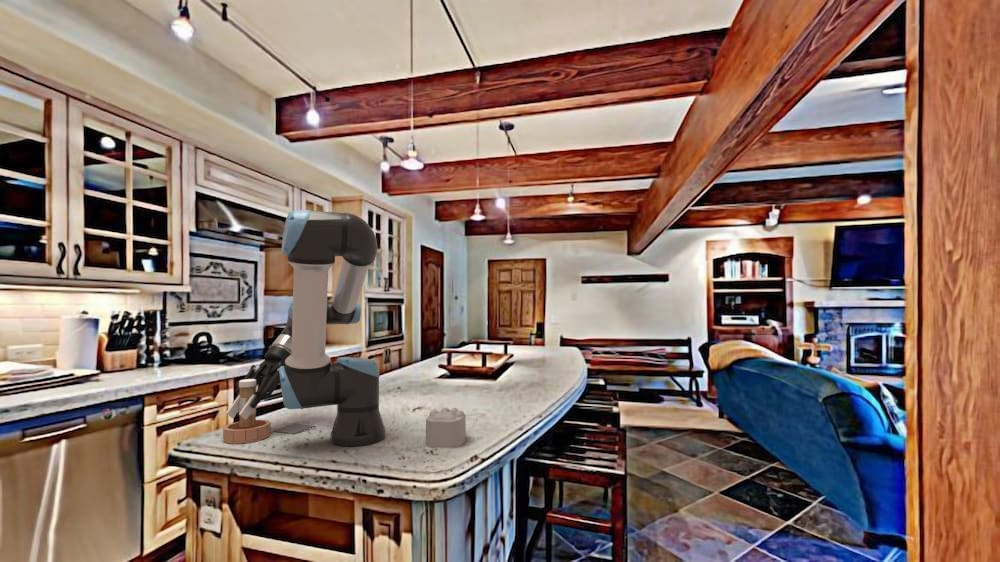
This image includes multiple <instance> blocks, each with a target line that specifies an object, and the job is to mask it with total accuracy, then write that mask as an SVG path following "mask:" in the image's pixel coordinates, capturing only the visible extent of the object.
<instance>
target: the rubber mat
mask: <svg viewBox="0 0 1000 562" xmlns="http://www.w3.org/2000/svg"><path fill="white" fill-rule="evenodd" d="M315 426H316V425H312V424H304V423H303V424H301V423H291V424H288V425H285V426H282V427H279V428H276V429H271V432H272V431H273V433H279V432H283V433H282V434H287V433H292V434H291V435H296V434H295V433H297V434H300V433H302V432H305V431H308V430H310V429H309V428H311V429H313V428H312V427H314V428H316V427H315ZM307 429H308V430H307ZM304 430H305V431H304ZM301 431H302V432H301ZM284 432H285V433H284ZM299 432H300V433H299Z"/></svg>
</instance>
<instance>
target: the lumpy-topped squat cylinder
mask: <svg viewBox="0 0 1000 562" xmlns="http://www.w3.org/2000/svg"><path fill="white" fill-rule="evenodd" d="M466 420H467V419H466V414H465V413H464V411H463V410H461V409H460V410H458V408H457V407H453V408H451V409H450V408H448V407H443V408H441V410H439V411H438V410H437V409H432V410H430V412H429V415H427V417H426V418H425V446H426V447H428V448H435V449H436V448H445V449H455V448H458V447H461V446H462V445H464V443H465V442H466V440H467V439H466V438H467V434H466V432H467V430H466V428H467V427H466V426H467V425H466V423H467V422H466Z"/></svg>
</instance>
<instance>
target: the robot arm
mask: <svg viewBox="0 0 1000 562" xmlns="http://www.w3.org/2000/svg"><path fill="white" fill-rule="evenodd" d="M281 242H282V243H281V254H282V255H284V256H287V262H288V264H289V265H290V266H291V267H292V268H293V277H292V278H293V283H292V300H291V301H290V303H289V307H288V310H287V311H288V312H287V319H286V325H285V327H284V328H283V330H282V331H281V333H280V334H279V335H278V336H277V338H276V339H275V340H274V341H273V342H272V344H271V346H270V347H269V348H268V349H267V351H266V352H265V354H264V360H263V361H262V362H261V363H260V364H259V365H257V366H256V365H255V364H252V365H251V366H250V368H249V371H248V372H247V373H246V375H245V377H244V378H242V380H245V379H256V387H257V386H258V385H259V384H260V385H259V387H258V388H257V389H256V392H254V394H255V395H256V396H255V395H252V396H251V398H250V399H249V400H248V402H247V403H246V405H245V406H244V407H243V409H242V410H241V412H240V413H239V397H240V389H239V388H240V387H239V385H238V386H237V387H236V389H235V392H236V393H237V396H236V397H235V399H233V401H232V403H231V405H230V406H229V408H228V409H227V411H226V412H225V414H226V415H228V417H230V418H232V419H234V418H235V417H236V415H237V414H238V415H239V417H240V416H241V417H242V418H244V419H247V418H248V416H249V415H250V414H251V412H252V411H253V409H254V408H255V407H256V408H257V406H258V405H259V403H260V402H261V401H262V400H263V399H269V398H270V397H271V395H272V394H273V392H275V390H276V388H277V387H278V386H279V384H280V389H281V395H282V396H281V397H282V402H283V406H284V407H285V409H287V410H298V409H299V410H304V409H310V408H317V407H318V408H319V407H327V406H336V407H337V408H336V416H335V419H334V423H333V425H332V429H331V432H330V443H332V444H333V445H335V446H340V447H359V446H365V445H366V446H367V445H370V444H371V445H372V444H375V443H377V442H380V441H382V440H384V439H385V437H386V427H385V425H384V422H383V418H382V415H381V412H380V369H379V364H378V362H377V361H376V360H374V359H370V358H364V357H355V356H354V357H351V356H344V357H343V356H340V357H337V359H336V362H332V360H331V359H332V358H331V357H330V356H329V355H327V354H326V344H327V343H326V342H327V341H326V340H327V337H326V336H327V325H329V326H330V325H351V324H358V323H359V322H360V321H361V316H362V307H361V304H360V302H359V298H360V295H361V292H362V289H363V286H364V283H365V280H366V276H367V274H368V270H369V267H370V265H373V264H374V262H375V259H376V256H377V254H378V241H377V237H376V234H375V232H374V231H373V229H372V227H371V226H370V224H368V223H367V221H365V220H364V219H363V218H362V217H360V216H358V215H355V214H353V213H349V212H333V211H324V210H323V211H320V210H310V209H301V210H300V209H294V210H293V209H292V210H291V211H290V212H288V213H287V215H286V219H285V223H284V228H283V234H282V241H281ZM336 257H342V261H341V265H340V269H339V274H338V278H337V282H336V285H335V289H334V293H333V298H332V301H328V290H329V288H328V287H329V285H328V284H329V270H330V268H331V267H333V265H335V264H336V263H335V262H336ZM331 362H332V363H331Z"/></svg>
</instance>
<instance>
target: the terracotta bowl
mask: <svg viewBox="0 0 1000 562" xmlns="http://www.w3.org/2000/svg"><path fill="white" fill-rule="evenodd" d="M239 424H240V421H236V422H232V423H228V424H226V425H225V426H223V428H222V438H223V443H224V442H225V443H224V444H227V443H228V444H229V445H243V444H244V443H245V444H251V442H252V443H256V442H255V441H257V442H260V441H263V440H265V438H266V439H267V437H268V438H269V437H270V435H271V433H272V429H271V427H272V426H271V425H272V422H271V421H269V420H267V419H256V425H254V426H251V427H240V426H239ZM262 439H263V440H262ZM259 440H260V441H259Z"/></svg>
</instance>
